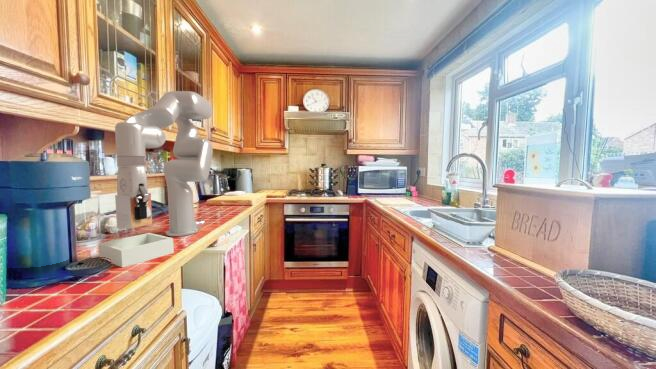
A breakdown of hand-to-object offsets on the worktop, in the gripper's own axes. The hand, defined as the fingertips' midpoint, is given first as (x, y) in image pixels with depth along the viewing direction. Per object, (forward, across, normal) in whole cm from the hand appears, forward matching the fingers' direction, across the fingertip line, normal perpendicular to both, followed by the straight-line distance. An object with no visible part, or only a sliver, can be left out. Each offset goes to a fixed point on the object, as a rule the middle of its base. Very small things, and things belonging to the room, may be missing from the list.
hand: (135, 217), depth 89 cm
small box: (+3, 0, 0) cm, 3 cm away
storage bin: (+13, 0, 0) cm, 13 cm away
